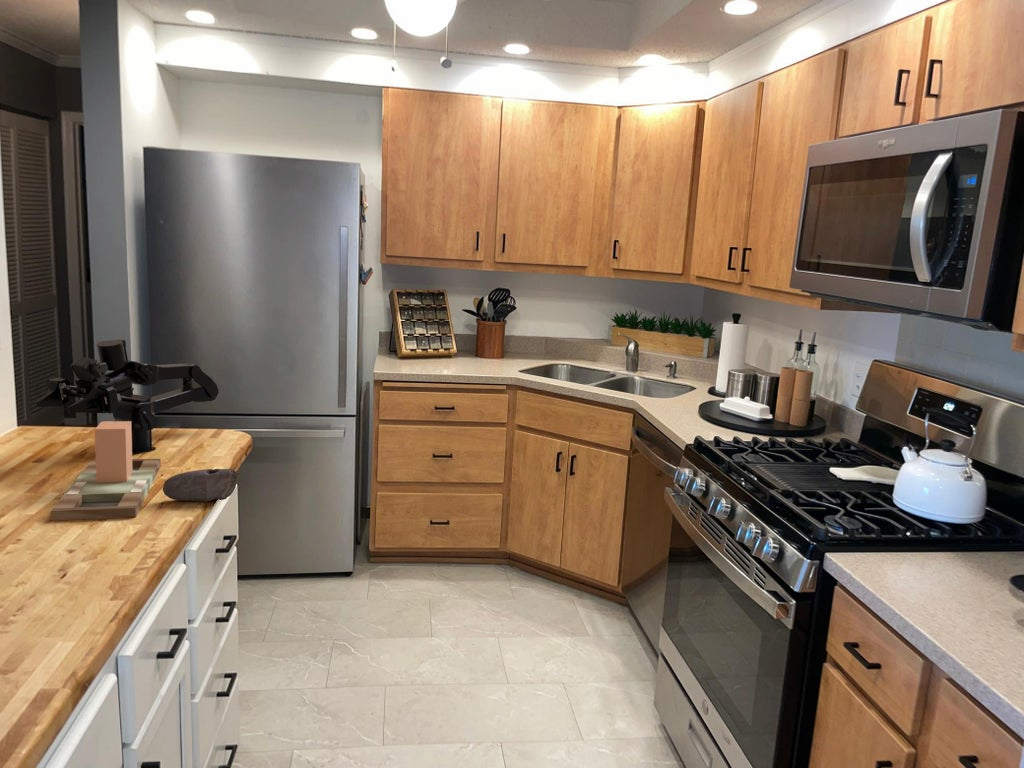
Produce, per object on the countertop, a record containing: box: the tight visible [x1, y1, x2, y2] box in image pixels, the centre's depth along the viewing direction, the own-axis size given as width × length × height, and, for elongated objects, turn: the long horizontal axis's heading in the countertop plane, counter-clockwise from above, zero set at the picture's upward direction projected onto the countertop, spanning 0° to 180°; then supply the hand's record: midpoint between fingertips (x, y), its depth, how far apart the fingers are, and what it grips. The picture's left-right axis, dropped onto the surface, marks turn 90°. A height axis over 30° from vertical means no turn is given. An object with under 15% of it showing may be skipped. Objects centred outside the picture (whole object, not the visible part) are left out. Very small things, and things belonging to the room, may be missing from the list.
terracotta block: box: [94, 420, 133, 482], centre depth 168 cm, size 7×6×12 cm
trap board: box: [50, 458, 162, 522], centre depth 166 cm, size 35×15×2 cm, turn 17°
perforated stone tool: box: [162, 468, 238, 503], centre depth 164 cm, size 15×5×7 cm, turn 104°
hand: (52, 407), depth 171 cm, fingers open, 9 cm apart
